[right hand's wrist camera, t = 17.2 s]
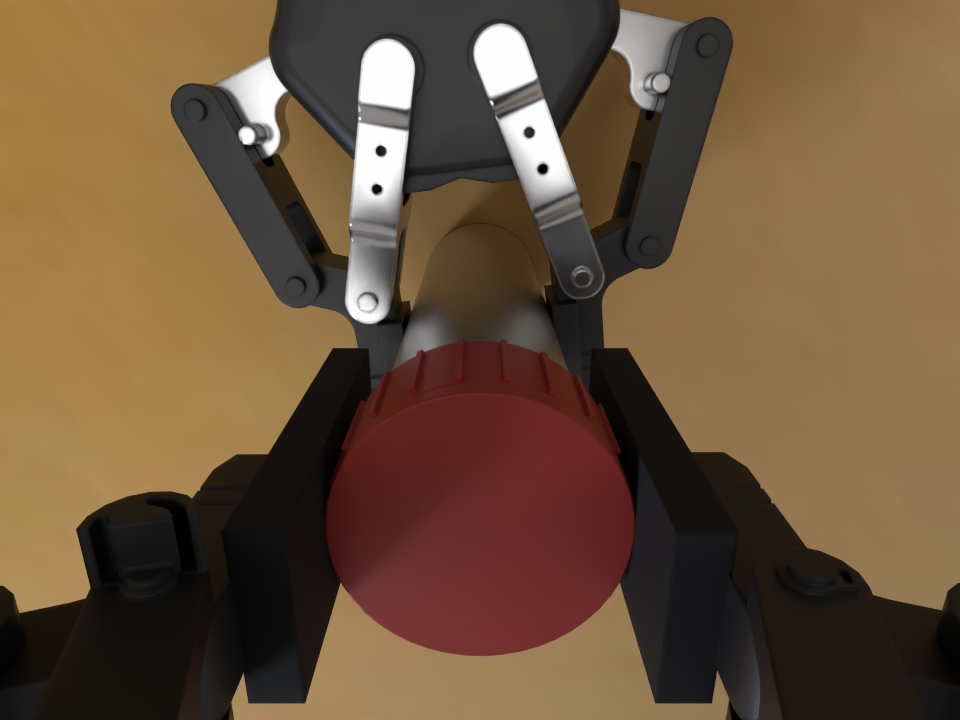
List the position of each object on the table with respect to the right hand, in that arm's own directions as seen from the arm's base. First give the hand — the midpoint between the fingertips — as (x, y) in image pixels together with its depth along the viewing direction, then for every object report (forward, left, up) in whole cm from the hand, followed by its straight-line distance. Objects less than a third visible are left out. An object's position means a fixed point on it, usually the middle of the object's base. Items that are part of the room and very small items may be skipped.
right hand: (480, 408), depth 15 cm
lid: (0, 0, +4) cm, 4 cm away
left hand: (-2, +2, -5) cm, 6 cm away
